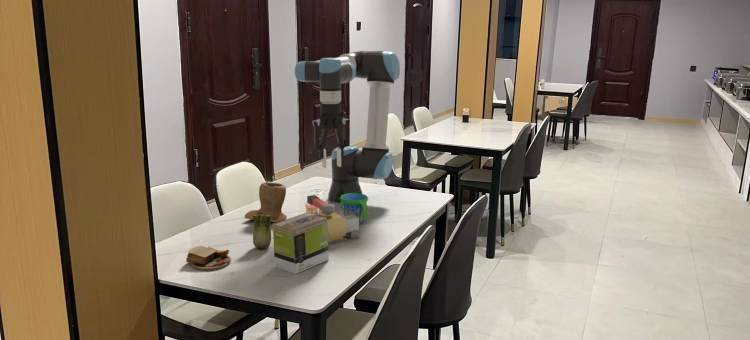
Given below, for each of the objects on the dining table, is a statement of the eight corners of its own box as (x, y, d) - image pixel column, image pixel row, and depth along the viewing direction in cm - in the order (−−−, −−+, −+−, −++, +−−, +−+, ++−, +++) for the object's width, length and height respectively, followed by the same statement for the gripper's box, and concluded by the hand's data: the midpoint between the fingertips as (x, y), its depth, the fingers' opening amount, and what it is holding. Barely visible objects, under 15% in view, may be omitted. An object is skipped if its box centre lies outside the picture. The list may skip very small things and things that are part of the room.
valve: (296, 242, 211) (295, 215, 209) (351, 232, 222) (351, 206, 219) (304, 249, 205) (303, 220, 203) (360, 238, 216) (360, 210, 214)
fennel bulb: (273, 247, 207) (272, 214, 204) (263, 251, 203) (262, 217, 200) (260, 244, 210) (258, 211, 207) (250, 248, 206) (249, 215, 203)
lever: (336, 213, 210) (336, 206, 210) (325, 215, 208) (325, 207, 207) (316, 201, 224) (316, 194, 224) (305, 203, 222) (305, 196, 221)
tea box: (307, 253, 201) (306, 211, 198) (329, 261, 195) (328, 217, 192) (273, 267, 190) (271, 222, 186) (295, 275, 184) (294, 229, 180)
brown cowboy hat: (292, 217, 239) (291, 181, 235) (278, 226, 228) (276, 188, 225) (259, 213, 244) (258, 177, 241) (243, 222, 233) (241, 184, 230)
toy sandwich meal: (213, 274, 185) (212, 260, 184) (180, 267, 191) (179, 253, 189) (239, 260, 196) (238, 247, 195) (207, 254, 201) (206, 240, 200)
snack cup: (376, 225, 230) (376, 199, 228) (352, 229, 225) (352, 203, 223) (356, 214, 243) (356, 190, 241) (333, 218, 238) (332, 193, 236)
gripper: (308, 104, 205) (310, 170, 211) (358, 102, 212) (358, 166, 217) (303, 102, 212) (305, 166, 218) (351, 100, 218) (351, 162, 224)
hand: (331, 166), depth 217 cm, fingers open, 5 cm apart
